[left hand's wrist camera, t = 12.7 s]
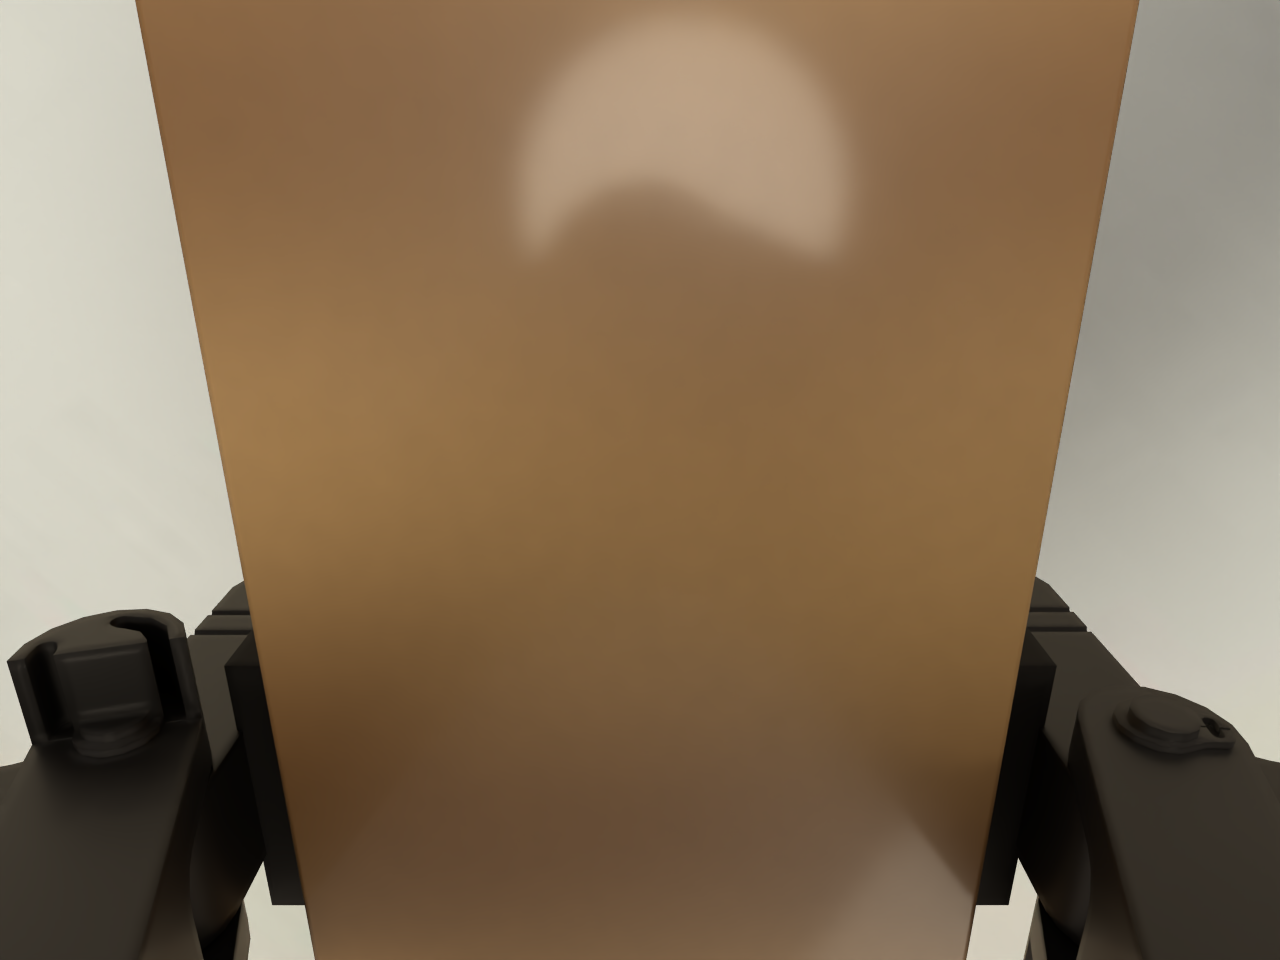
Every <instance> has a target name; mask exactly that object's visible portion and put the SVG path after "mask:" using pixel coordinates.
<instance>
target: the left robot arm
mask: <svg viewBox="0 0 1280 960" xmlns="http://www.w3.org/2000/svg"><path fill="white" fill-rule="evenodd" d="M7 664H8V667H9V670H10V673H11V677H12V680H13V683H14V686H15V690H16V693H17V696H18V700H19V703H20V706H21V709H22V713H23V716H24V719H25V722H26V726H27V729H28V732H29V735H30V739H31V742H32V746H31V748H30V750H29V752H28V754H27V756H26V758H25V759H24V761H23V762H20V763H16V764H13V765H8V766H2V767H0V960H248V952H249V945H250V932H249V925H248V918H247V914H246V909H245V904H244V900H243V899H244V897H245V895H246V893H247V891H248V890H249V888H250V886H251V884H252V882H253V880H254V878H255V876H256V874H257V872H258V870H259V868H260V866H261V864H262V862H264V867H265V872H266V877H267V882H268V887H269V891H270V896H271V901H272V905H305V903H304V898H303V892H302V887H301V882H300V876H299V871H298V866H297V860H296V855H295V850H294V844H293V839H292V834H291V828H290V823H289V818H288V812H287V807H286V802H285V796H284V791H283V786H282V780H281V775H280V770H279V764H278V759H277V754H276V748H275V743H274V738H273V732H272V727H271V722H270V716H269V711H268V706H267V700H266V695H265V690H264V684H263V679H262V674H261V668H260V663H259V658H258V652H257V647H256V642H255V636H254V631H253V626H252V620H251V615H250V610H249V604H248V599H247V594H246V588H245V583H244V581H243V582H241V583H239V584H238V585H236V586H234V587H233V588H232V589H231V590H230V591H229V592H228V593H227V594H226V596H225V597H224V598H223V599H222V600H221V601H220V602H219V603H218V605H217V606H216V607H215V608H214V609H213V610H212V615H208V616H207V617H206V618H205V619H204V620H203V621H202V623H201V624H200V625H199V626H198V627H197V628H196V629H195V635H190V636H189V637H188V638H187V637H186V632H185V628H184V623H183V622H181V621H180V620H179V619H177V618H176V617H174V616H173V615H172V614H170V613H165V612H160V611H155V610H149V609H137V610H116V611H112V612H107V613H102V614H97V615H92V616H87V617H83V618H80V619H77V620H75V621H72V622H69V623H66V624H64V625H61V626H58V627H55V628H53V629H50V630H49V631H47V632H45V633H43V634H42V635H40V636H38V637H36V638H34V639H33V640H31V641H29V642H27V643H26V644H24V645H23V646H22V647H21V648H20V649H19V650H18V651H17V652H16V653H15V654H14V655H13V656H12V657H11V658H10V659H9V660H8V661H7ZM1018 858H1019V860H1020V862H1021V864H1022V866H1023V868H1024V870H1025V872H1026V874H1027V876H1028V877H1029V879H1030V881H1031V883H1032V885H1033V887H1034V889H1035V891H1036V893H1037V900H1036V904H1035V909H1034V914H1033V918H1032V923H1031V927H1030V932H1029V937H1028V941H1027V946H1026V950H1025V955H1024V960H1280V763H1279V762H1274V761H1269V760H1265V759H1261V758H1257V757H1255V756H1254V754H1253V752H1252V750H1251V748H1250V746H1249V745H1248V743H1247V742H1246V741H1245V740H1244V738H1243V737H1242V736H1241V735H1240V734H1239V732H1238V731H1237V730H1236V729H1235V728H1234V727H1233V725H1232V724H1230V723H1229V722H1227V721H1226V720H1224V719H1223V718H1221V717H1220V716H1218V715H1217V714H1215V713H1214V712H1212V711H1211V710H1209V709H1208V708H1206V707H1204V706H1201V705H1199V704H1197V703H1194V702H1192V701H1190V700H1187V699H1185V698H1183V697H1180V696H1178V695H1175V694H1171V693H1167V692H1163V691H1159V690H1155V689H1150V688H1146V687H1140V686H1139V685H1138V684H1137V682H1136V681H1135V680H1134V679H1133V678H1132V677H1131V676H1130V675H1129V673H1128V672H1127V671H1126V670H1125V669H1124V668H1123V667H1122V666H1121V665H1120V663H1119V662H1118V661H1117V660H1116V659H1115V658H1114V657H1113V656H1112V654H1111V653H1110V652H1109V651H1108V650H1107V649H1106V648H1105V647H1104V646H1103V644H1102V643H1101V642H1100V641H1099V640H1098V639H1097V638H1096V637H1095V635H1094V634H1093V633H1092V632H1087V627H1086V625H1085V624H1084V623H1083V622H1082V621H1081V620H1080V619H1079V618H1078V616H1077V615H1076V614H1075V613H1074V612H1070V611H1069V606H1068V605H1067V604H1066V603H1065V602H1064V601H1063V600H1062V599H1061V597H1060V596H1059V595H1058V594H1057V593H1056V592H1055V591H1054V590H1053V589H1052V587H1051V586H1050V585H1049V584H1047V583H1046V582H1044V581H1042V580H1040V579H1039V578H1037V577H1035V581H1034V586H1033V592H1032V598H1031V603H1030V609H1029V614H1028V620H1027V625H1026V631H1025V636H1024V642H1023V647H1022V653H1021V658H1020V664H1019V670H1018V675H1017V681H1016V686H1015V692H1014V697H1013V703H1012V708H1011V714H1010V719H1009V725H1008V730H1007V736H1006V742H1005V747H1004V753H1003V758H1002V764H1001V769H1000V775H999V780H998V786H997V791H996V797H995V802H994V808H993V814H992V819H991V825H990V830H989V836H988V841H987V847H986V852H985V858H984V863H983V869H982V874H981V880H980V886H979V891H978V897H977V902H976V905H1009V900H1010V895H1011V890H1012V885H1013V880H1014V875H1015V870H1016V865H1017V860H1018Z"/></svg>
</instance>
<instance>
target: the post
mask: <svg viewBox="0 0 1280 960" xmlns="http://www.w3.org/2000/svg"><path fill="white" fill-rule="evenodd" d="M135 1H136V7H137V12H138V17H139V23H140V28H141V33H142V39H143V44H144V49H145V55H146V60H147V65H148V71H149V76H150V81H151V87H152V92H153V97H154V103H155V108H156V113H157V119H158V124H159V129H160V135H161V140H162V145H163V151H164V156H165V161H166V167H167V172H168V177H169V183H170V188H171V193H172V199H173V204H174V209H175V215H176V220H177V225H178V231H179V236H180V241H181V247H182V252H183V257H184V263H185V268H186V273H187V279H188V284H189V289H190V295H191V300H192V306H193V311H194V316H195V322H196V327H197V332H198V338H199V343H200V348H201V354H202V359H203V364H204V370H205V375H206V380H207V386H208V391H209V396H210V402H211V407H212V412H213V418H214V423H215V428H216V434H217V439H218V444H219V450H220V455H221V460H222V466H223V471H224V476H225V482H226V487H227V492H228V498H229V503H230V508H231V514H232V519H233V524H234V530H235V535H236V540H237V546H238V551H239V556H240V562H241V567H242V572H243V578H244V583H245V588H246V594H247V599H248V604H249V610H250V615H251V620H252V626H253V631H254V636H255V642H256V647H257V652H258V658H259V663H260V668H261V674H262V679H263V684H264V690H265V695H266V700H267V706H268V711H269V716H270V722H271V727H272V732H273V738H274V743H275V748H276V754H277V759H278V764H279V770H280V775H281V780H282V786H283V791H284V796H285V802H286V807H287V812H288V818H289V823H290V828H291V834H292V839H293V844H294V850H295V855H296V860H297V866H298V871H299V876H300V882H301V887H302V892H303V898H304V903H305V908H306V914H307V919H308V924H309V930H310V935H311V940H312V946H313V951H314V956H315V960H966V958H967V952H968V946H969V941H970V935H971V930H972V924H973V919H974V913H975V908H976V902H977V897H978V891H979V886H980V880H981V874H982V869H983V863H984V858H985V852H986V847H987V841H988V836H989V830H990V825H991V819H992V814H993V808H994V802H995V797H996V791H997V786H998V780H999V775H1000V769H1001V764H1002V758H1003V753H1004V747H1005V742H1006V736H1007V730H1008V725H1009V719H1010V714H1011V708H1012V703H1013V697H1014V692H1015V686H1016V681H1017V675H1018V670H1019V664H1020V658H1021V653H1022V647H1023V642H1024V636H1025V631H1026V625H1027V620H1028V614H1029V609H1030V603H1031V598H1032V592H1033V586H1034V581H1035V575H1036V570H1037V564H1038V559H1039V553H1040V548H1041V542H1042V537H1043V531H1044V526H1045V520H1046V514H1047V509H1048V503H1049V498H1050V492H1051V487H1052V481H1053V476H1054V470H1055V465H1056V459H1057V454H1058V448H1059V442H1060V437H1061V431H1062V426H1063V420H1064V415H1065V409H1066V404H1067V398H1068V393H1069V387H1070V382H1071V376H1072V370H1073V365H1074V359H1075V354H1076V348H1077V343H1078V337H1079V332H1080V326H1081V321H1082V315H1083V310H1084V304H1085V298H1086V293H1087V287H1088V282H1089V276H1090V271H1091V265H1092V260H1093V254H1094V249H1095V243H1096V238H1097V232H1098V226H1099V221H1100V215H1101V210H1102V204H1103V199H1104V193H1105V188H1106V182H1107V177H1108V171H1109V166H1110V160H1111V154H1112V149H1113V143H1114V138H1115V132H1116V127H1117V121H1118V116H1119V110H1120V105H1121V99H1122V94H1123V88H1124V82H1125V77H1126V71H1127V66H1128V60H1129V55H1130V49H1131V44H1132V38H1133V33H1134V27H1135V22H1136V16H1137V10H1138V5H1139V0H135Z"/></svg>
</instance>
